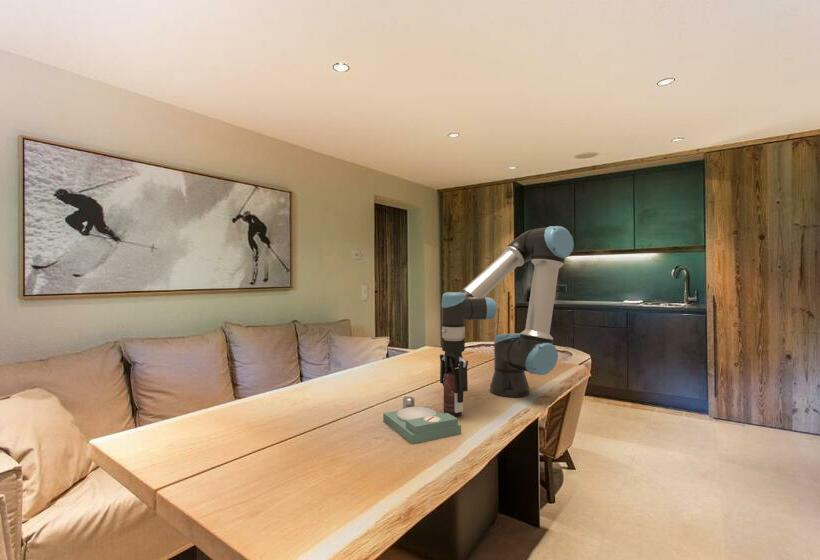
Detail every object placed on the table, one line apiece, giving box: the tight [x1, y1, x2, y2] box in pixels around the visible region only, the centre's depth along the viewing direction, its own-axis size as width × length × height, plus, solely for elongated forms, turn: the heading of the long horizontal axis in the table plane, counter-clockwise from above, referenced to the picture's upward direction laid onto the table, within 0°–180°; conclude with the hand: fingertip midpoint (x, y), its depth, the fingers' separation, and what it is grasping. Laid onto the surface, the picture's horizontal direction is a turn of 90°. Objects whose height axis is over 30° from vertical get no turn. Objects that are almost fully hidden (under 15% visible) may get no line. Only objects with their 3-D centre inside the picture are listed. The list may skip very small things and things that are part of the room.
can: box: [443, 372, 463, 418], centre depth 134 cm, size 6×6×14 cm
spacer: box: [402, 396, 416, 409], centre depth 139 cm, size 4×4×4 cm
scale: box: [383, 405, 462, 445], centre depth 123 cm, size 16×20×5 cm
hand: (453, 408), depth 134 cm, fingers open, 6 cm apart
